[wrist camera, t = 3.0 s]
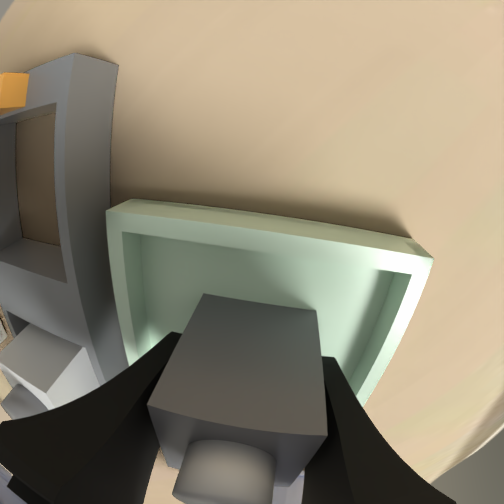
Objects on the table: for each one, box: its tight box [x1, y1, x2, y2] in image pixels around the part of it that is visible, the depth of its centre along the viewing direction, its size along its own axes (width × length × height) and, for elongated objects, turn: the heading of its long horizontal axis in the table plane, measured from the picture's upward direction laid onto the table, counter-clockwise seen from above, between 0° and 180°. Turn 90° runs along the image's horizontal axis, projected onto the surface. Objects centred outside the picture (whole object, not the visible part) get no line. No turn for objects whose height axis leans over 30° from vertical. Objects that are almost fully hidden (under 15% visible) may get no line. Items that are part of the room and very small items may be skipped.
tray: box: [106, 198, 434, 407], centre depth 10 cm, size 10×10×2 cm
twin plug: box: [0, 323, 100, 420], centre depth 10 cm, size 4×4×6 cm
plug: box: [147, 293, 328, 504], centre depth 7 cm, size 4×4×6 cm
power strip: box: [0, 53, 129, 386], centre depth 9 cm, size 18×7×4 cm, turn 174°
